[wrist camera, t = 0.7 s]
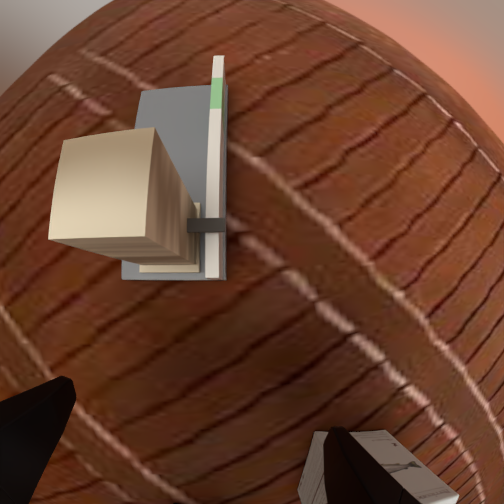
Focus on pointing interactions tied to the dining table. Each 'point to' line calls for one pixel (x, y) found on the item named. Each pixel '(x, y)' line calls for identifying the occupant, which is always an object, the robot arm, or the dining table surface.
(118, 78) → the dining table surface
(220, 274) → the board
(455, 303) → the dining table surface
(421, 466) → the supplement box
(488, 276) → the dining table surface
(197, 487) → the dining table surface
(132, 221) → the beige brown box
